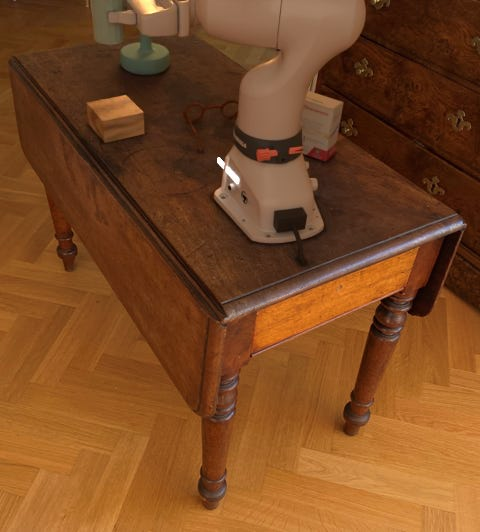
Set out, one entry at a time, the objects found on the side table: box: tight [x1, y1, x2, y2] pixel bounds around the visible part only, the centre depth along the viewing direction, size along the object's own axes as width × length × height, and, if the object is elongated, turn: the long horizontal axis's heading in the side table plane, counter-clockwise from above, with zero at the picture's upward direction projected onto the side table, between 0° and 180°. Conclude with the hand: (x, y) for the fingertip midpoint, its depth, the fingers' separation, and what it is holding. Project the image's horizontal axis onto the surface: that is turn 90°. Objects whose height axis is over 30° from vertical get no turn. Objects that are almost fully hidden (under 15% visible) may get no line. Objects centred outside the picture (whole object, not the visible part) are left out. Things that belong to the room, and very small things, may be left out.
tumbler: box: [89, 0, 126, 46], centre depth 114 cm, size 6×6×10 cm
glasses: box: [182, 99, 239, 153], centre depth 129 cm, size 13×13×5 cm
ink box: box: [301, 90, 344, 162], centre depth 124 cm, size 9×5×12 cm, turn 57°
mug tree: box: [119, 31, 171, 76], centre depth 147 cm, size 12×12×25 cm
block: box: [85, 94, 145, 144], centre depth 128 cm, size 9×9×5 cm
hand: (102, 10), depth 113 cm, fingers closed on tumbler, 6 cm apart
